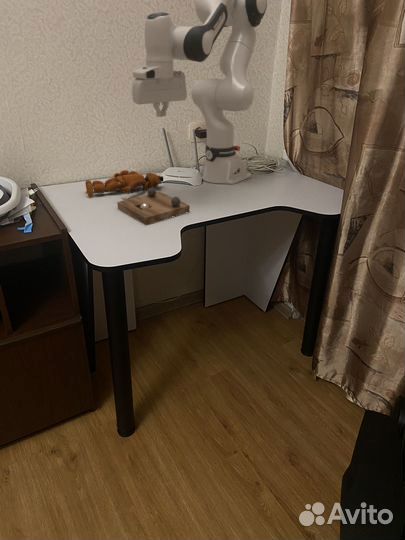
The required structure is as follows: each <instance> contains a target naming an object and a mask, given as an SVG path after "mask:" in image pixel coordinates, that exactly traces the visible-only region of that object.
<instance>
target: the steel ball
mask: <svg viewBox="0 0 405 540" xmlns="http://www.w3.org/2000/svg"><path fill="white" fill-rule="evenodd" d="M146 208H150V206H149V205H148V204H147V203H143V204H141V205H140V209H141V210H143V209H146Z"/></svg>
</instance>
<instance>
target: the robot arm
mask: <svg viewBox="0 0 405 540" xmlns="http://www.w3.org/2000/svg"><path fill="white" fill-rule="evenodd" d="M267 3H268V1H267V0H195V4H194V5H195V6H194V7H195V13H196V17H197V18H198V20H199V21H200V23H202V24H201V25H194V26H193V25H191V26H189V25H188V26H187V25H185V26H184V25H183V26H181V25H180V26H178V24H176V23H174V21H173V19H172V18H171V17H172V16H171V14H170V13H167V12H155V13H150V14H149V15H147V17H146V19H145V24H144V46H145V50H146V57H145V65H143V66H140V67H138V68H136V69H134V70H133V71H132V77H133V78H134V79H133V81H132V85H131V92H132V101H133V102H134V104H137V105H146V104H147V105H151V104H152V106H153V108H154V110H155V112H156V114H155V115H156V117H158V118H161V117H166V116H167V111H168V108H169V106H170V103H169V102H171V103H172V102H181V101H186V99H187V97H188V94H187V84H186V75H185V73H184V72H182V70H178V71H177V70H174V60H177V61H178V60H179V61H192V62H197V63H203V62H205V61H206V60H207V59H208V57H209V56H210V54H211V52H212V49H213V47H214V44H215V42H216V41H217V39H218V37H219V36H220V34H221V32H222V31H223V29H224V28H228V27H231V34H230V35H229V36H228V39H227V41H226V44H225V46H224V49H223V51H222V54H221V57H220V60H219V69H220V71H221V73H222V74H223V75H224V77H225V78H223V79H221V78H220V79H219V78H203V79H198V80H196V81H195V82H194V83H193V85H192V88H191V99H192V101H193V103H194V104H195V106H196V107H197V108H198V109H199V110H200V112H201V114H202V116H203V119H204V122H205V127H206V144H205V150H204V151H205V152H204V153H205V161H204V162H205V163H204V169H203V174H202V177H201V179H202V180H203V181H204V182H208V183H212V184H227V185H235V184H237V183H239V182H242V181H244V180H246V179H250V178H251V177H252V174H251V172H248V171H247V164H246V162H245V161H244V160H243V159H242V158H241V157H240V156H238V154H237V152H239V151H240V150H241V146H239V145H234V137H235V128H234V125H233V122H232V121H230V120H228V119H227V118H226V116H225V114H224V111H228V112H242V111H248V110H249V109H250V107H251V106H252V104H253V101H254V97H255V94H254V89H253V87H252V85H251V84H250V83H249V82H248V80H247V70H248V67H249V64H250V61H251V58H252V56H253V53H254V48H255V46H256V45H255V44H256V40H257V39H256V38H257V31H256V29H255V28H256V27H258V26H259V25H261V21H262V19H263V18H264V17H265V14H266V11H267V6H268V5H267ZM161 105H162V107H161ZM160 107H161V108H160ZM236 151H237V152H236Z"/></svg>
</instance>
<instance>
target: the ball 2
mask: <svg viewBox="0 0 405 540" xmlns="http://www.w3.org/2000/svg"><path fill="white" fill-rule="evenodd" d="M180 202H182V201H181V199H180V197H177V196H174V197H173V196H172V200H171V203H172V205H173V206H178V205H180Z"/></svg>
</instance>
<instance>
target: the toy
mask: <svg viewBox="0 0 405 540" xmlns="http://www.w3.org/2000/svg"><path fill="white" fill-rule="evenodd" d="M163 182H164V177H163V175H161V176H160V175H157V174H156V173H151V172H148V173H146V175H145V176H144V175H143V174H140V173H138V172H137V171H134V170H131V171H129V170H128V169H125V170H122V171H120V173H119V172H116V173H114V174H113V177H110V178H109V179H107V180H105V182H103V181H100V180H93V181H91V180H90V179H88V180H87V179H86V180H85V189H86V192H87V196H88V198H89V199H93V197H94V196H93V195H94V192H96V193H99V194H104V193H108V192H109V193H111V192H112V193H113V192H116V191H118V190H122V192H123V193H124V194H127V195H130V194H131V190H133V189H137V188H138V187H142V188H143V190H148V189H149V188H155V187H157V186H158V185H161V184H162V183H163Z"/></svg>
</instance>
